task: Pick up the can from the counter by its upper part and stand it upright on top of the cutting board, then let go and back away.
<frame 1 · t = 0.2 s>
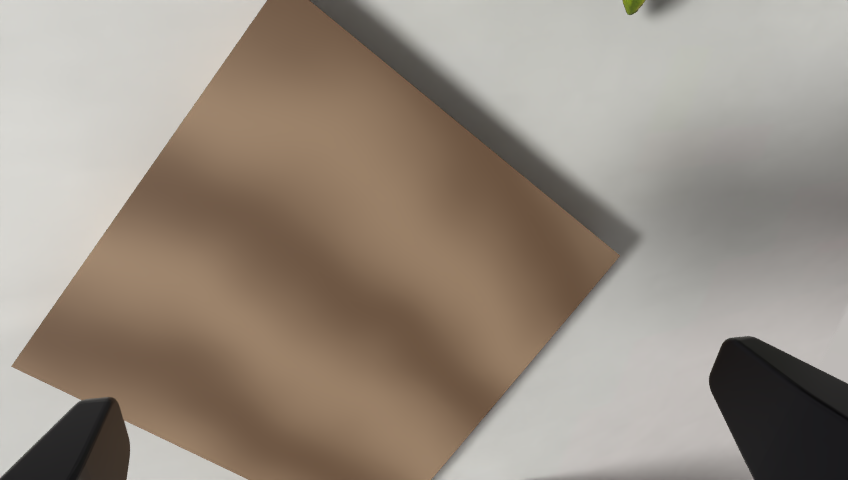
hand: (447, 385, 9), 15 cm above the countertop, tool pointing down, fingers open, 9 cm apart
cutting board: (335, 286, 24), on the countertop
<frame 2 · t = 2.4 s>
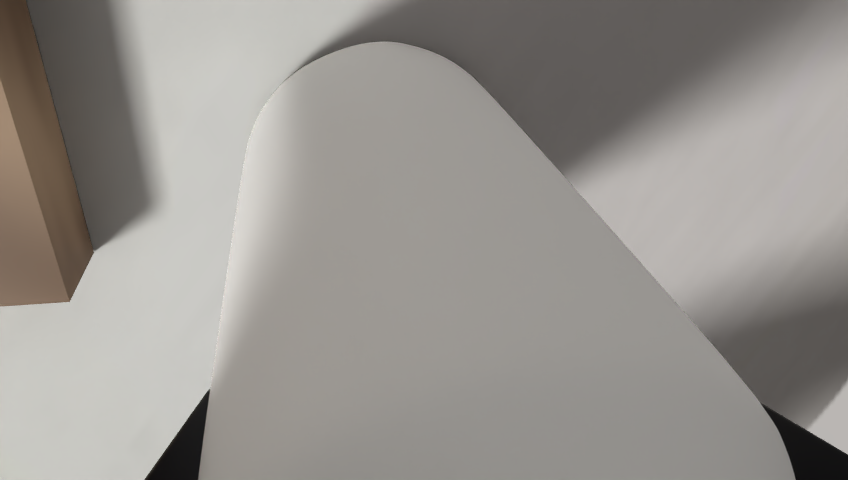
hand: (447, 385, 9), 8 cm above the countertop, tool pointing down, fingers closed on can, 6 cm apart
can: (378, 165, 15), on the countertop, touching gripper
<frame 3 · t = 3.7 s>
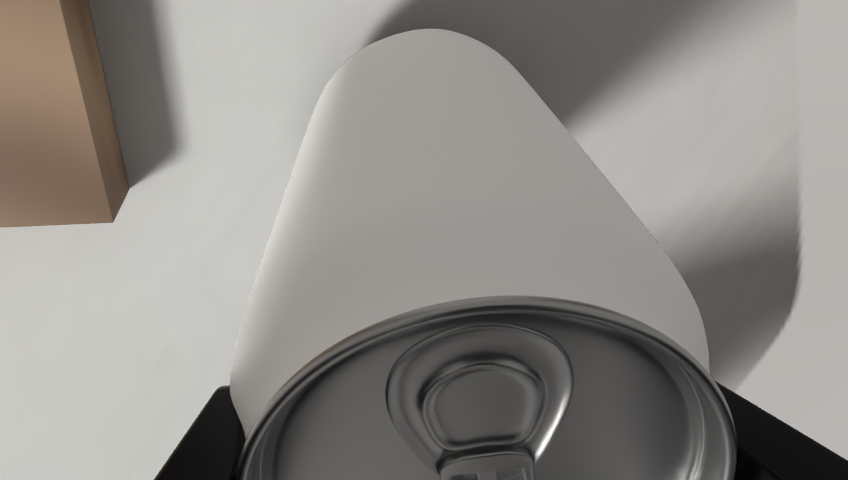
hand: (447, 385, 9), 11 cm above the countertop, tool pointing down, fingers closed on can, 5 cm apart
can: (424, 140, 17), point 1 cm above the countertop, touching gripper
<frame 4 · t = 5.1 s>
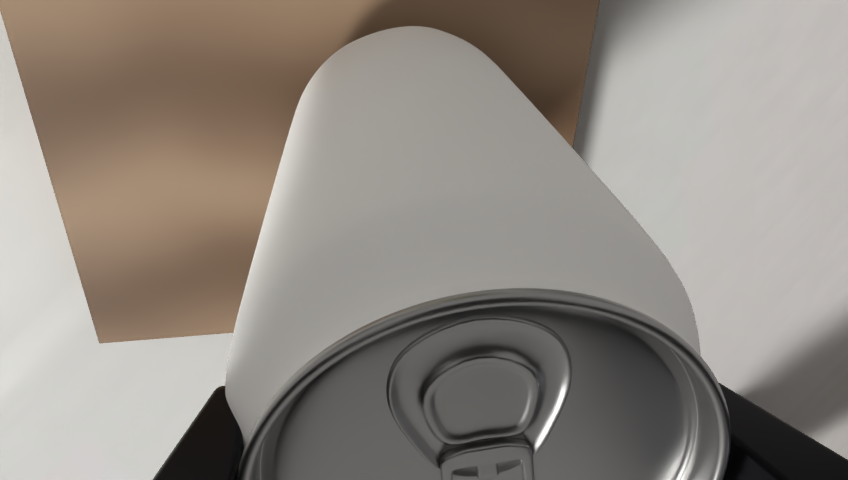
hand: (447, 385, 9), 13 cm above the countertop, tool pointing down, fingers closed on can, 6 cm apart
cutting board: (325, 92, 20), on the countertop
can: (407, 138, 17), point 3 cm above the countertop, touching gripper
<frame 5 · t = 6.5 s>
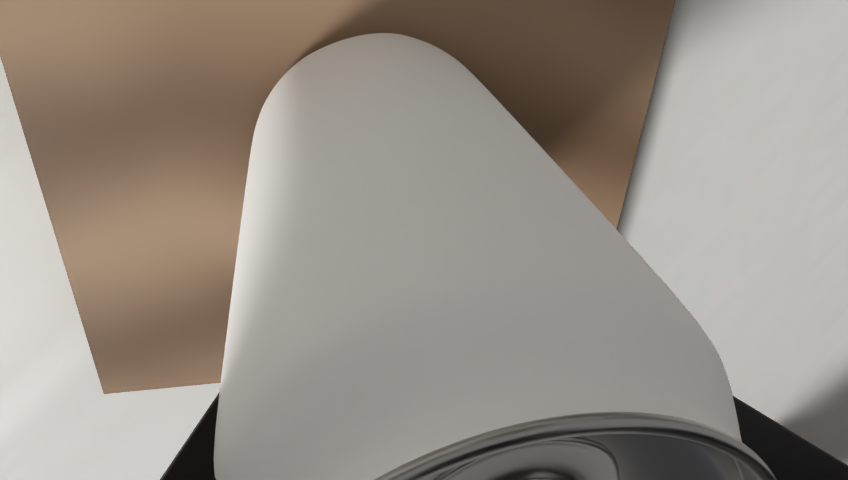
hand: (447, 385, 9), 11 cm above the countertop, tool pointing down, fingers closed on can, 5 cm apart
cutting board: (357, 117, 18), on the countertop
can: (376, 150, 16), point 2 cm above the countertop, touching gripper, cutting board
when the fingers open (11 cm above the countertop, at t = 6.7 s): can stays where it is, resting on cutting board.
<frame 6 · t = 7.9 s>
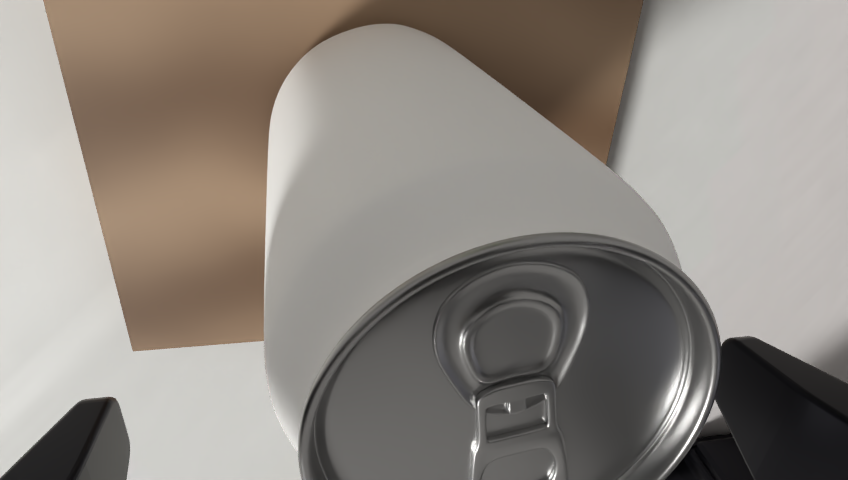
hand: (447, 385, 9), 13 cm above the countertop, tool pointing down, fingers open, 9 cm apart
cutting board: (361, 102, 20), on the countertop
can: (379, 132, 18), point 2 cm above the countertop, touching cutting board
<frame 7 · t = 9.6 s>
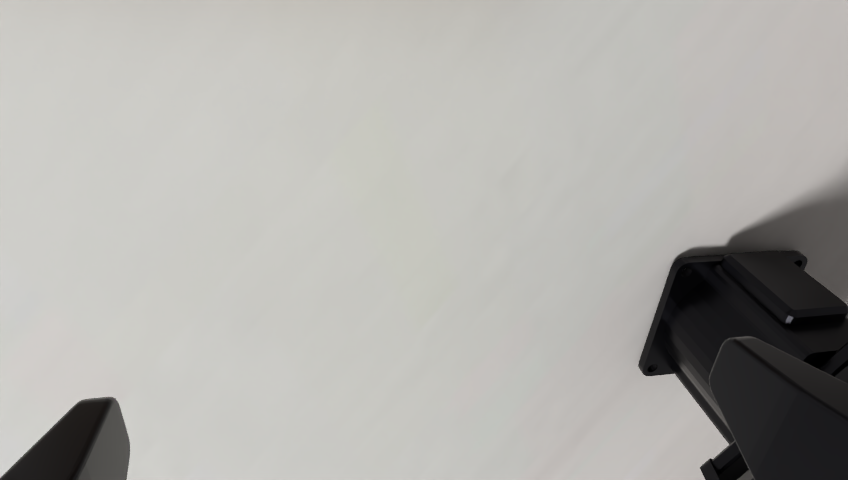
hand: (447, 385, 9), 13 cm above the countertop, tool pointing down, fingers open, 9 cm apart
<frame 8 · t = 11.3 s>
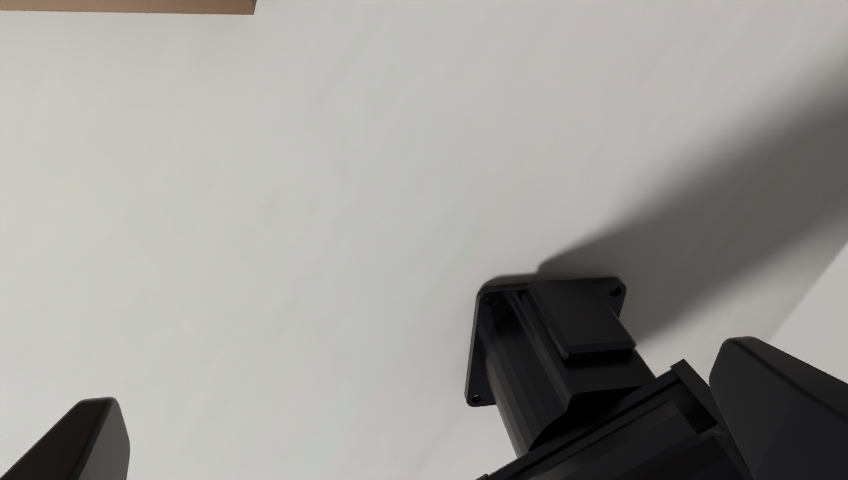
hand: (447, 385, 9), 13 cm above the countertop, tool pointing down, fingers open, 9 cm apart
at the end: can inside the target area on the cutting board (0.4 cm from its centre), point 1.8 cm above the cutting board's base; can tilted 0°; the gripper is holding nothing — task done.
